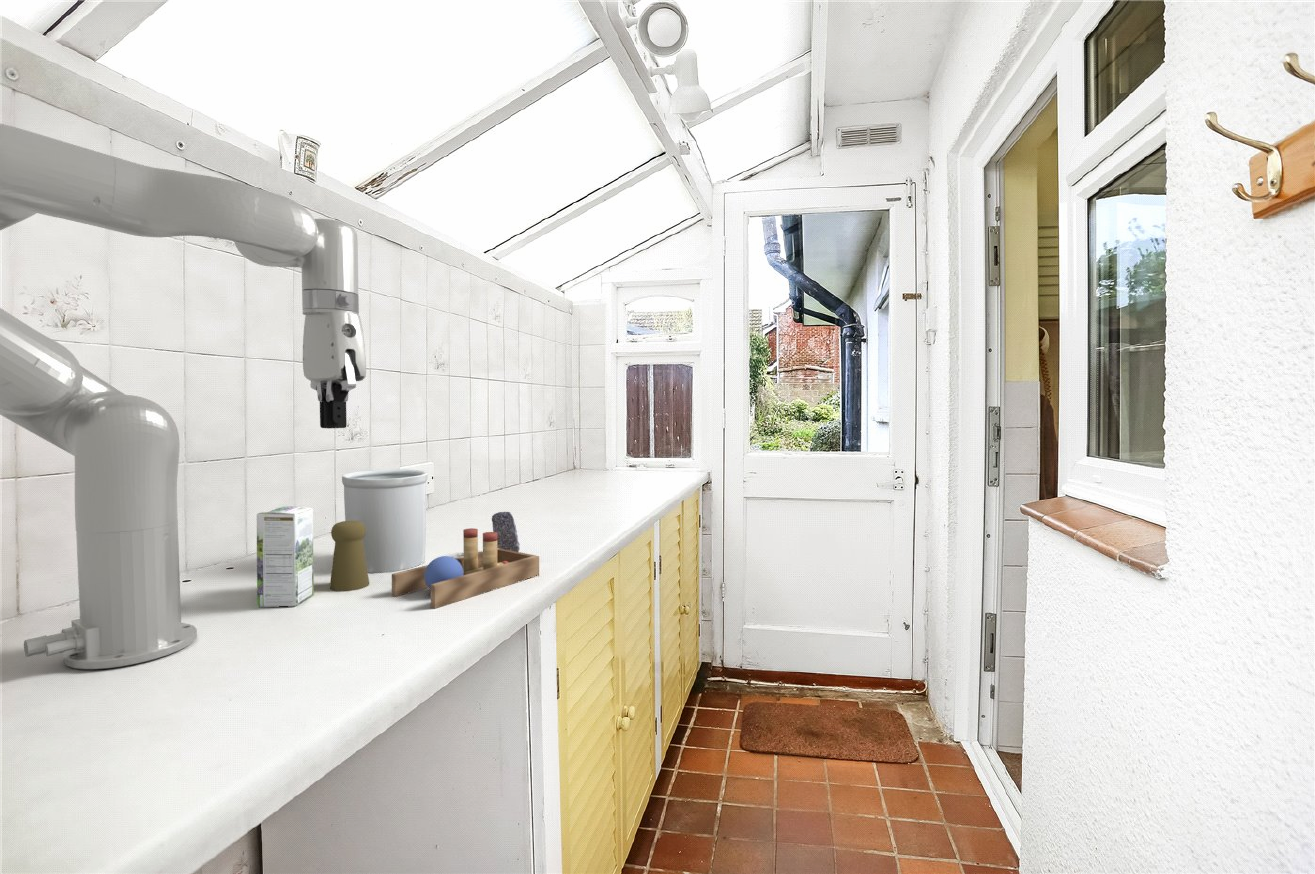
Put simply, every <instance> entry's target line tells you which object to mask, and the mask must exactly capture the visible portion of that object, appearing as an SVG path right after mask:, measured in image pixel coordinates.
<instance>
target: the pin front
mask: <svg viewBox="0 0 1315 874" xmlns="http://www.w3.org/2000/svg"><path fill="white" fill-rule="evenodd" d="M506 563H509V562H507V561H503V562H499V563H497V566H499V565H503V564H506ZM481 570H483V567H481V568H478V569H474V570H471V571H467V572H464V574H463V575H467V574H470V573H474V572H477V571H481Z"/></svg>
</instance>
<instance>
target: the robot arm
mask: <svg viewBox="0 0 1315 874" xmlns="http://www.w3.org/2000/svg"><path fill="white" fill-rule="evenodd" d="M37 214H40V215H44V216H48V217H52V218H58V219H63V220H66V221H67V220H68V221H72V222H77V223H81V224H84V225H89V226H93V227H98V228H102V229H105V230H109V231H113V232H117V233H123V234H127V235H129V236H130V235H131V236H136V237H143V238H144V237H146V238H170V237H171V238H172V237H182V236H183V237H187V236H192V237H206V238H213V239H214V238H215V239H220V240H225V241H231V242H233V243H234V245H235V248H236V249H237V251H238V252H239V253H240V254H241V256H243V257H244V258H246V259H247V260H249V261H250V262H252V263H254V264H256V265H260V266H264V267H270V268H271V267H272V268H300V269H301V291H302V292H301V305H302V307H301V308H302V309H301V310H302V315H303V316H305V317H304V323H303V336H302V369H303V371H302V373H303V375H304V377H305V379H306V380H308V381H309V382H310V388H311V389H312V390H314V391H316V393H317V401H318V402H319V426H320V428H321V429H346V428H347V425H348V423H347V421H348V420H347V402H348V400H349V392H350V391H351V390H354V389H355V388H356V387H357V382H361V381H364V379H365V378H366V377H367V364H366V363H367V361H366V360H367V359H366V349H365V348H366V347H365V346H366V345H365V336H364V329H363V324H362V320H361V316H360V311H359V310H360V307H359V306H360V304H359V302H360V301H359V300H360V299H359V298H360V297H359V257H358V256H359V254H358V251H359V249H358V248H359V247H358V245H359V244H358V234H357V231H356V229H355V228H354V227H352V225H350V224H349V223H345V222H343V221H341V220H340V221H339V220H334V219H329V218H315V217H313V215H312V213H311V212H310V211H309V210H308V209H306V207H304V206H303V205H302V204H300V203H299V202H297V201H295V200H293V199H291V198H289V197H286V196H283V195H281V194H278V193H276V192H275V193H274V192H273V191H272V192H271V191H268V190H264V189H263V188H262V189H261V188H259V187H255V186H252V185H249V184H246V183H242V182H239V181H235V180H231V179H227V178H221V177H216V176H211V175H204V174H198V173H197V174H196V173H190V172H184V171H179V170H174V169H168V168H166V169H165V168H160V167H159V168H158V167H152V166H147V165H144V164H140V163H137V162H134V161H133V162H132V161H130V160H126V159H123V158H119V157H117V156H113V155H109V154H106V153H103V152H100V151H96V150H93V149H90V148H86V147H83V146H79V145H76V144H73V143H69V142H66V141H63V140H59V139H57V138H52V137H50V136H46V135H43V134H40V133H37V132H32V131H30V130H26V129H24V128H23V129H22V128H19V127H15V126H12V125H8V124H4V123H0V231H3V230H5V229H7V228H9V227H11V226H14V225H16V224H18V223H21V222H23V221H24V220H27V219H29V218H31V217H32V216H35V215H37ZM0 416H2V417H4V418H5V419H7V420H9V421H11V422H12V423H15V424H16V425H17V426H19V427H22V428H23V429H24V430H27V431H28V432H30V433H32V434H34V435H36V436H37V437H39V438H41V439H42V440H45V441H47V442H49V443H51V444H52V445H53V446H56V448H57V447H58V448H59V449H61V450H63V451H65V452H66V453H68V454H70V455H72V456H74V519H75V520H74V521H75V532H76V533H75V534H76V535H75V536H76V537H75V538H76V554H77V556H76V557H77V579H78V583H77V584H78V605H79V618H77V619H71V626H70V627H66V628H63V629H61V631H60V632H59V633H54V634H51V635H41V636H37V637H33V638H27V639H24V640H23V650H24V651H23V652H24V654H25V656H26V658H28V657H32V656H36V655H41V654H45V655H46V657H49V656H55V655H58V654H63V663H64V665H65V666H67V667H69V668H72V669H79V670H101V669H102V670H103V669H104V670H105V669H112V668H118V667H119V668H120V667H127V666H132V665H136V664H141V663H146V662H149V661H153V660H156V659H159V658H163V657H165V656H169V655H172V654H174V653H176V652H178V651H179V652H180V650H183V649H185V648H187V647H188V646H189V645H191V644H193V643H194V641H195V640H197V637H198V632H197V628H196V626H195V625H192V624H190V623H185V622H182V604H181V580H180V579H181V577H180V574H181V572H180V548H179V545H180V544H179V543H180V542H179V522H178V521H179V519H178V475H179V474H178V473H179V472H178V471H179V462H180V448H181V447H180V435H179V434H180V433H179V430H178V427H177V425H176V423H175V422H176V421H174V419H173V417H172V415H171V414H170V413H169V412H168V411H167V410H166V409H165V408H164V407H162V406H161V405H160V404H158V403H156V402H155V401H153V400H150V399H148V398H145V397H142V396H138V395H133V394H132V395H131V394H125V393H124V392H122V391H120V389H119V390H118V389H117V388H116V387H114V386H112V385H111V384H110V383H108V382H106V381H105V380H103V379H102V378H100V377H98V375H96V374H94V373H93V372H91V371H90V370H88V369H86V368H85V367H83V366H82V365H80V362H79V360H78V359H77V358H76V356H75V355H74V353H72V352H71V351H70V350H69V349H68V348H67V347H65V345H62V344H61V343H59V342H58V341H56V340H54V339H53V338H50V337H48V336H46V335H44V334H43V333H42V332H39V331H38V330H36V329H35V328H32V327H31V326H30V325H28V324H27V323H25V322H23V321H22V320H21V319H19V318H17V317H15V316H14V315H12V314H11V313H9V312H8V311H6V310H4V309H3V308H2V307H0Z"/></svg>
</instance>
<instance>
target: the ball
mask: <svg viewBox="0 0 1315 874" xmlns="http://www.w3.org/2000/svg"><path fill="white" fill-rule="evenodd" d="M455 558H456V557H452V556H448V555H442V556H438V557H436V558H434V559H433V560H431V561H430V562H429V563H428V564H427V565H428V566H427V568H426V570H425V575H424V577H425V582H426V584H427V586H428V589H429V590H431V584H434V583H438V582H442V581H445V580H449V579H452V578H456V577H460V576H463V568H462V566H461V564H460V563H459V562H458V561H457V560H456V559H455Z"/></svg>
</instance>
